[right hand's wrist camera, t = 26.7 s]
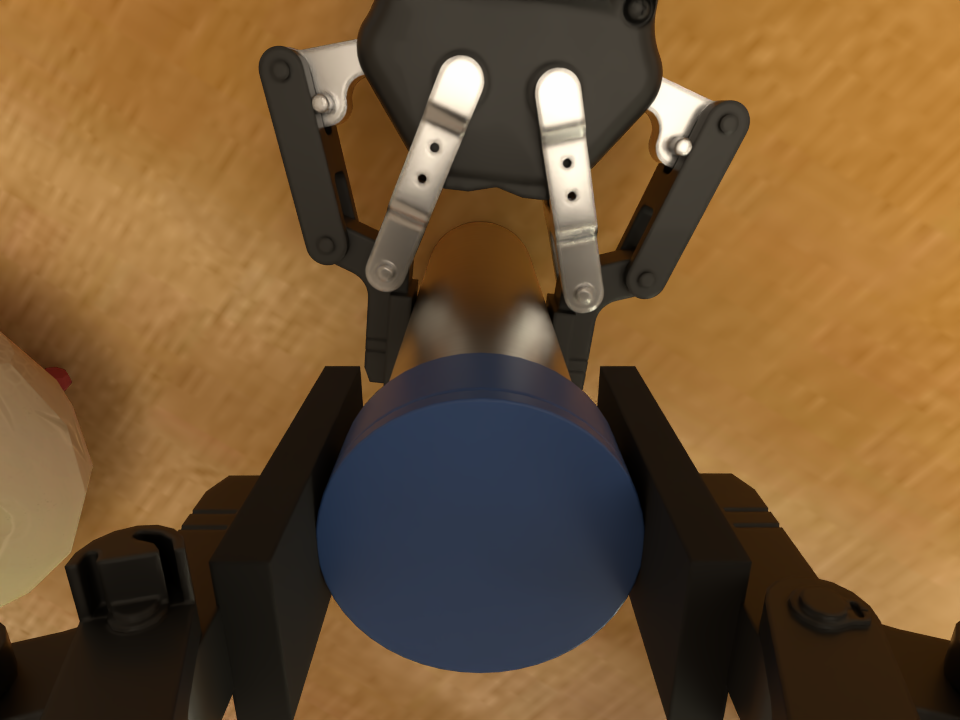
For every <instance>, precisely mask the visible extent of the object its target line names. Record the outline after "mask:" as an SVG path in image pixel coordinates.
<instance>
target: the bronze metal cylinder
mask: <svg viewBox="0 0 960 720" xmlns="http://www.w3.org/2000/svg"><path fill="white" fill-rule="evenodd" d="M465 353H495V354H504V355H509V356H515V357H520V358H523V359H526V360H529V361H532V362H535V363H539V364H541V365H543V366H545V367H547V368H549V369H551V370H554V371H556V372H557V373H559V374H560V375H562V376H564V377H565V378H567V379H568V380H570V381H571V379H570V376H569V373H568V370H567V367H566V364H565V361H564V358H563V355H562V352H561V349H560V346H559V343H558V340H557V337H556V334H555V331H554V328H553V325H552V322H551V319H550V316H549V313H548V310H547V307H546V304H545V301H544V298H543V295H542V292H541V289H540V286H539V283H538V280H537V277H536V274H535V271H534V268H533V265H532V262H531V259H530V256H529V253H528V251H527V249H526V248H525V246H524V244H523V243H522V242H521V240H520V239H519V238H518V237H517V236H516V235H515V234H513V233H512V232H511V231H509V230H508V229H506V228H504V227H502V226H500V225H497V224H493V223H489V222H472V223H467V224H463V225H460V226H458V227H456V228H454V229H453V230H451V231H449V232H448V233H447V234H446V235H444V236H443V237H442V238H441V240H440V241H439V242H438V243H437V245H436V246H435V248H434V250H433V252H432V254H431V257H430V260H429V263H428V266H427V269H426V272H425V275H424V278H423V281H422V284H421V287H420V290H419V293H418V296H417V299H416V302H415V305H414V308H413V311H412V314H411V317H410V320H409V323H408V326H407V329H406V332H405V335H404V338H403V341H402V344H401V347H400V350H399V353H398V356H397V359H396V362H395V365H394V368H393V371H392V374H391V377H390V380H389V381H391V380H392V379H394V378H395V377H397V376H399V375H400V374H402V373H403V372H405V371H407V370H409V369H411V368H413V367H416V366H418V365H420V364H422V363H425V362H428V361H431V360H434V359H438V358H441V357H446V356H451V355H457V354H465Z"/></svg>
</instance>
